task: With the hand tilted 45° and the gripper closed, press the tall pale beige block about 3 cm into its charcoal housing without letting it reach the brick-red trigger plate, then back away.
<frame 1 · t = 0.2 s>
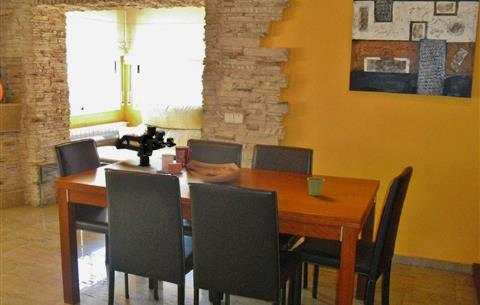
hand: (171, 145, 312), 16 cm above the table, tool horizontal, fingers open, 9 cm apart
mug: (183, 167, 331), on the table
plant pot: (314, 195, 263), on the table
pale beige block: (167, 162, 308), point 6 cm above the table, slide at 0.0 cm
key housing: (170, 173, 307), on the table
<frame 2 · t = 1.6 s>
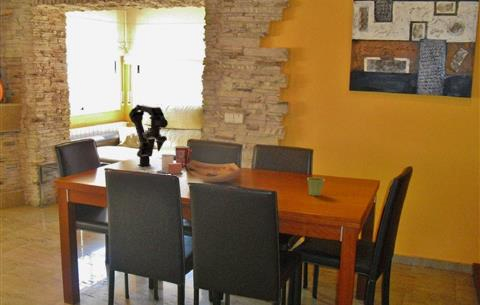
hand: (155, 150, 318), 12 cm above the table, tool pointing down, fingers open, 8 cm apart
nothing on the table moved.
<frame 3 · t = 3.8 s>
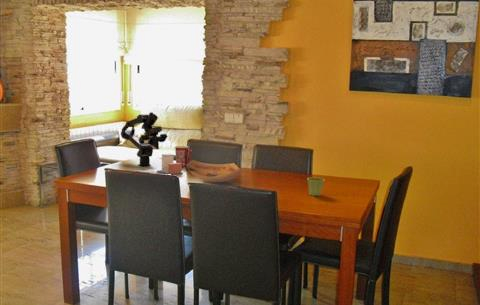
hand: (158, 148, 316), 14 cm above the table, tool tilted 45°, fingers closed
nothing on the table moved.
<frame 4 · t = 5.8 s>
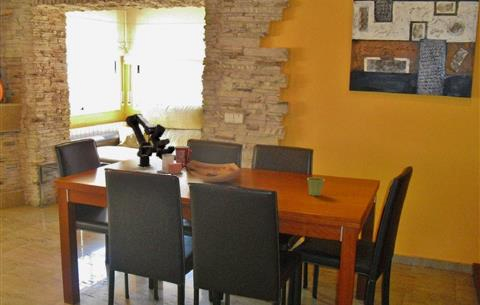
hand: (166, 161, 309), 7 cm above the table, tool tilted 45°, fingers closed, pressing on pale beige block
pale beige block: (167, 162, 308), point 6 cm above the table, slide at 0.4 cm, touching gripper
everything else where it was.
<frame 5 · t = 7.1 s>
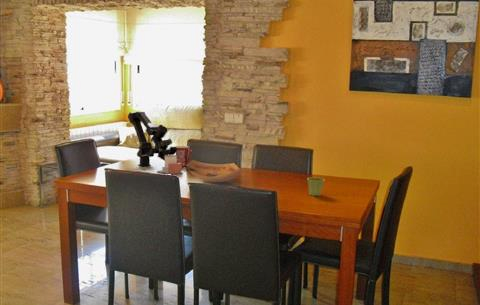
hand: (168, 162, 308), 7 cm above the table, tool tilted 45°, fingers closed
pale beige block: (170, 163, 306), point 6 cm above the table, slide at 3.3 cm
everything else where it was.
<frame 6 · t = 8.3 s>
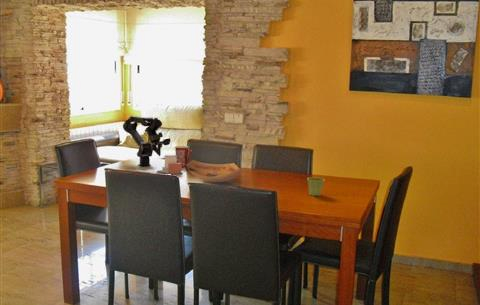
hand: (159, 155, 314), 9 cm above the table, tool tilted 35°, fingers closed
nothing on the table moved.
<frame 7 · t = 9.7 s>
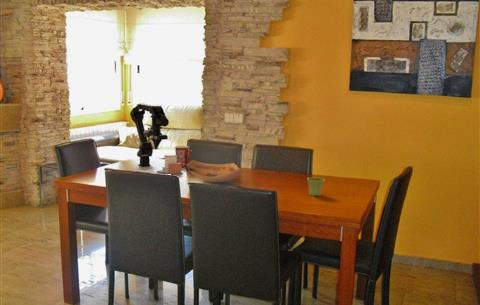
hand: (156, 149, 317), 13 cm above the table, tool pointing down, fingers closed
nothing on the table moved.
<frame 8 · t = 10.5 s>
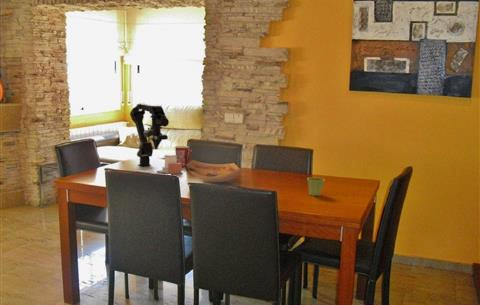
hand: (156, 149, 317), 13 cm above the table, tool pointing down, fingers closed
nothing on the table moved.
at the end: pale beige block slide at 3.3 cm; mug moved 0.2 cm from its start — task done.
